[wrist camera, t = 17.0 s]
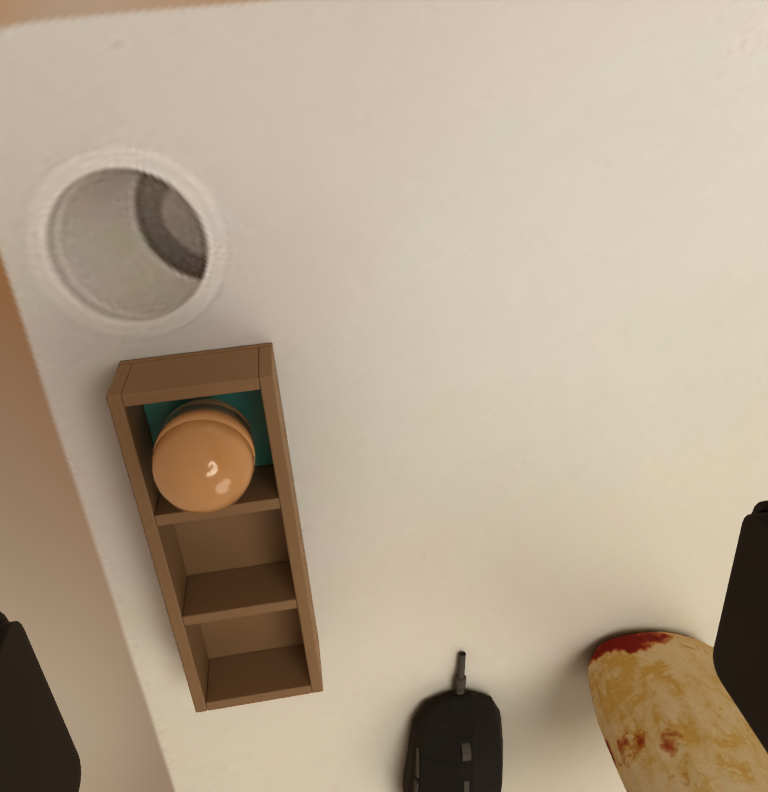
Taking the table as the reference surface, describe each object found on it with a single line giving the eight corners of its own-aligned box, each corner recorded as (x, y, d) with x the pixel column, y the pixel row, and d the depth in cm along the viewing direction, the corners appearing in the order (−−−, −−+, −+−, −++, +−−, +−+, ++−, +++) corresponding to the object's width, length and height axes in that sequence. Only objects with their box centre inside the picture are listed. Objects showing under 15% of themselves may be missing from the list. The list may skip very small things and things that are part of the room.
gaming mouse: (512, 646, 44) (533, 700, 41) (488, 800, 51) (504, 858, 48) (410, 655, 43) (423, 712, 40) (399, 811, 50) (409, 870, 47)
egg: (143, 407, 33) (122, 476, 28) (225, 365, 32) (218, 429, 28) (194, 474, 35) (183, 550, 30) (272, 436, 34) (273, 507, 30)
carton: (200, 662, 41) (196, 713, 38) (120, 360, 32) (105, 396, 29) (319, 643, 42) (323, 691, 39) (272, 342, 33) (272, 375, 30)
